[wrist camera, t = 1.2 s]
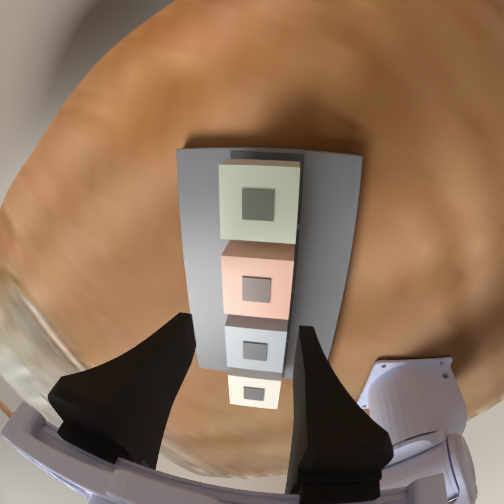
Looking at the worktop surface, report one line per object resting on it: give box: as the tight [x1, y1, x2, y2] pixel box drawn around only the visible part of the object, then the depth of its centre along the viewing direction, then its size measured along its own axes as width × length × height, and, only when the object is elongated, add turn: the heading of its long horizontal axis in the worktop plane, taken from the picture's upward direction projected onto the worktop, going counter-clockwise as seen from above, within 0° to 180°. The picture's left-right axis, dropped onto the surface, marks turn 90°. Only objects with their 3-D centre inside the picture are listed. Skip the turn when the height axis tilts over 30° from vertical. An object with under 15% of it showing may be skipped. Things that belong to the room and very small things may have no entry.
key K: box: [225, 314, 288, 373], centre depth 20 cm, size 4×4×2 cm
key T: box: [221, 240, 295, 320], centre depth 17 cm, size 4×4×2 cm
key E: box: [219, 159, 300, 244], centre depth 15 cm, size 4×4×2 cm
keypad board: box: [176, 147, 363, 379], centre depth 22 cm, size 12×20×1 cm, turn 179°
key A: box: [228, 367, 282, 409], centre depth 22 cm, size 4×4×2 cm
